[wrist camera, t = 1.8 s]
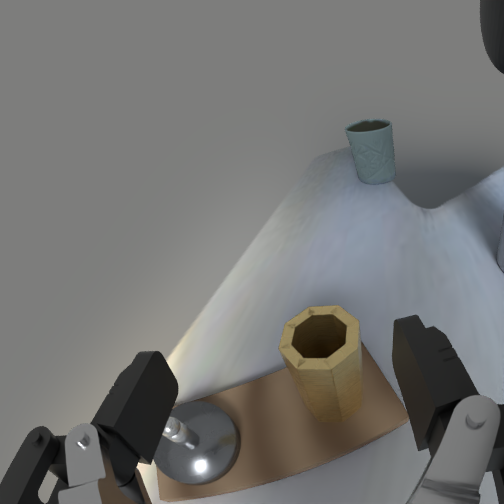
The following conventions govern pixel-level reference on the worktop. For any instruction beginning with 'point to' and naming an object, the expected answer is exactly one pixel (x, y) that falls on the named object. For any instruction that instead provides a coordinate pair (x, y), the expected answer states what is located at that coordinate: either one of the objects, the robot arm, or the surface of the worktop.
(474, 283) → the worktop surface
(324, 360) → the brass sleeve
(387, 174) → the pale green pot
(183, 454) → the disc
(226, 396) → the walnut board
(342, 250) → the worktop surface
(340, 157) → the worktop surface
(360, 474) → the worktop surface
